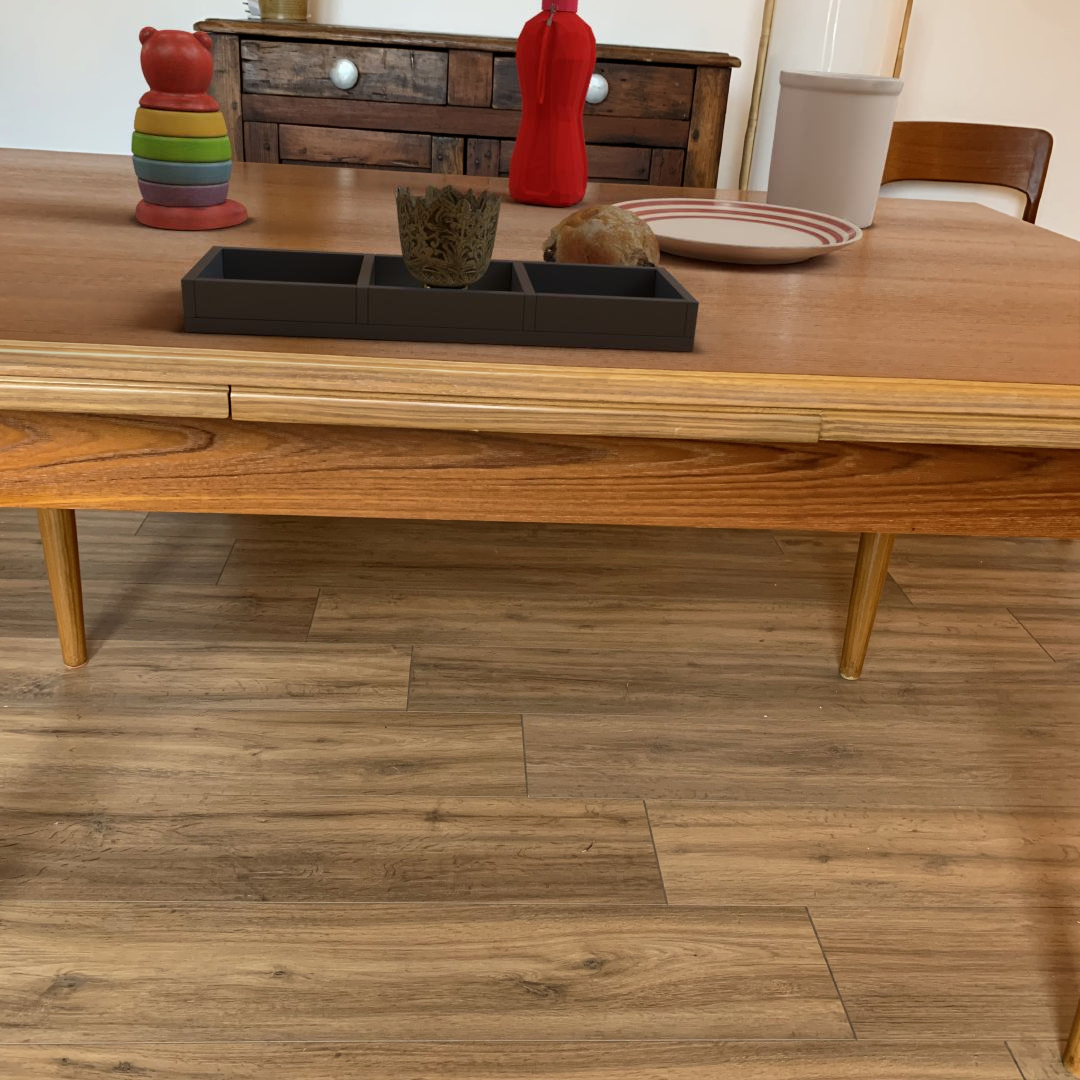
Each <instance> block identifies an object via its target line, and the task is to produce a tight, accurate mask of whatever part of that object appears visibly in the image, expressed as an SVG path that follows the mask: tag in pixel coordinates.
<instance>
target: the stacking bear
mask: <svg viewBox="0 0 1080 1080" xmlns="http://www.w3.org/2000/svg"><path fill="white" fill-rule="evenodd" d="M138 41H139V43H140V44H141V48H140V52H139V53H140V55H139V62H140V68H141V73H142V75H143V77H144V80H145V82H146V84H147V85H148V87H149V90H148V91H146V92H144V93H143V94H142V96H141V97H140V98H139V100H138V104H139V106H138V107H137V108H136V110H135V114H134V119H133V129H134V130H133V131H132V132H131V133H132V134H131V148H130V151H131V153H132V156H131V159H132V165H133V169H134V173H135V176H136V178H137V185H138V188H139V192H140V195H141V197H142V199H140V200H139V201H138V202H137V204H136V206H135V219H136V220H137V221H138V222H140V223H141V224H143V225H145V226H148V227H152V228H157V229H165V230H177V231H205V230H215V229H221V228H222V229H223V228H224V229H225V228H228V227H233V226H238V225H239V224H242V223H244V222H245V221H247V219H248V210H247V207H246V206H245V205H244V204H242V203H241V202H240V201H236V200H233V199H231V198H228V192H229V186H230V181H231V179H232V178H231V177H232V170H233V162H232V156H233V153H232V152H233V151H232V145H231V140H230V137H229V136H228V135H227V134H228V129H227V125H226V120H225V117H224V114H223V113H222V112H221V111H220V105H219V103H217V101H216V99H214V97H212V96H211V95H209V94H208V93H207V91H208V90H209V88H210V86H211V82H212V81H213V80H212V79H213V74H214V60H213V57H212V53H211V49H212V47H213V41H212V38H211V36H210V35H209V34H208V33H207V32H206V31H203V30H197V31H195V32H193V33H192V32H189V31H186V30H180V29H160V30H158V29H156V28H155V27H153V26H145V27H143V28H141V29H140V31H139V32H138Z"/></svg>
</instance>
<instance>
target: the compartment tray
mask: <svg viewBox="0 0 1080 1080" xmlns="http://www.w3.org/2000/svg"><path fill="white" fill-rule="evenodd" d="M422 285H423V282H421V281H419V280H418V279H416V278H415V277H414V276H413V275H412V274H411V273H410V272H409V270H408V268H407V267H406V265H405V262H404V259H403V255H402V254H389V253H370V252H369V253H368V252H349V251H347V252H346V251H330V250H329V251H328V250H327V251H326V250H309V249H308V250H305V249H284V248H265V247H245V246H242V247H240V246H223V245H212V246H211V247H210V249H208V251H207V252H205V254H204V255H203V256H202V257H201V258H200V259H198V261H197V262H196V263H195V264H194V265H193V266H192V267H191V268H190V269H189V271H188V272H187V273H185V275H184V276H183V277H182V278H181V279H180V286H181V302H182V314H183V328H184V332H185V333H201V334H203V333H204V334H225V335H227V334H229V335H249V336H250V335H254V336H257V335H259V336H278V337H279V336H281V337H307V338H330V339H333V338H334V339H354V340H355V339H356V340H357V339H358V340H380V341H383V340H384V341H404V342H405V341H408V342H429V343H430V342H433V343H455V344H456V343H458V344H460V343H461V344H485V345H486V344H487V345H509V346H510V345H511V346H514V345H515V346H538V347H559V348H560V347H561V348H562V347H563V348H588V349H589V348H590V349H610V350H611V349H613V350H614V349H615V350H637V351H638V350H640V351H641V350H642V351H664V352H667V351H669V352H689V353H690V352H691V353H692V352H693V351H694V345H695V337H696V331H697V330H696V329H697V322H698V314H699V305H700V302H699V301H698V300H697V299H696V298H695V297H694V296H693V295H692V294H691V293H690V292H689V291H688V290H687V288H686V287H684V286H683V285H682V283H681V282H679V281H678V280H677V278H675V277H674V276H673V275H672V274H671V273H670V272H669V271H668V269H666V267H664V266H663V267H662V266H658V267H644V266H623V265H602V264H581V263H560V262H545V261H536V260H515V259H512V260H511V259H493V258H491V260H490V264H489V266H488V268H487V270H486V272H485V273H484V275H483V276H482V277H481V278H480V279H479V280H477V281H476V282H474V283H472V284H469V285H468V286H469V288H470V290H463V289H440V288H421V287H422Z"/></svg>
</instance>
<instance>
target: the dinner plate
mask: <svg viewBox="0 0 1080 1080" xmlns="http://www.w3.org/2000/svg"><path fill="white" fill-rule="evenodd" d="M611 205H612V206H616V207H619V208H621V209H623V210H625V211H626V210H629V211H633V212H634V213H636V214H637V217H639V218H640V219H642V220H644V221H645V222H646V223H647V224H648V225H649V226H650V228H651V230H652V231H653V233H654V235H655V236H656V239H657V242H658V245H659V251H661V252H664V253H667V254H671V255H675V256H680V257H684V258H688V259H695V260H701V261H707V262H708V261H709V262H716V263H717V262H718V263H725V264H738V265H739V264H741V265H759V266H760V265H761V266H762V265H763V266H764V265H786V264H794V263H800V262H804V261H807V260H809V259H811V258H812V257H813V258H814V257H818V256H822V255H826V254H829V253H833V252H836V251H839V250H842V249H844V248H846V247H849V246H851V245H853V244H855V243H856V242H858V241H859V240H860V239H861V238H862V237H863V235H864V233H863V230H862V228H858V227H857V226H855V225H854V224H852V223H850V222H847V221H845V220H842V219H840V218H837V217H834V216H830V215H826V214H822V213H818V212H813V211H809V210H803V209H797V208H791V207H784V206H777V205H769V204H766V203H760V202H752V201H751V202H750V201H741V200H740V201H739V200H726V199H714V198H713V199H711V198H710V199H709V198H689V197H688V198H686V197H685V198H684V197H674V198H673V197H664V198H643V199H635V200H627V201H622V202H617V203H614V204H611Z"/></svg>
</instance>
